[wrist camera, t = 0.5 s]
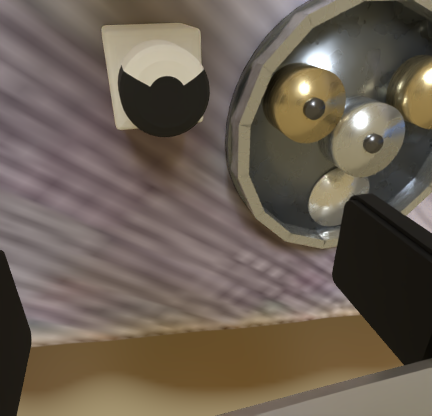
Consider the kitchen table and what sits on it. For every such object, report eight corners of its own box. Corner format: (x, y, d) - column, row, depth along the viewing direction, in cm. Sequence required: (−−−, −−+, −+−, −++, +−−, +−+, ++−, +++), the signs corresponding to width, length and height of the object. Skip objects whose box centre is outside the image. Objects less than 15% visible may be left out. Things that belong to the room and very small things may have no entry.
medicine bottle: (187, 102, 37) (220, 142, 27) (113, 108, 35) (119, 153, 25) (182, 22, 33) (219, 33, 23) (100, 25, 32) (101, 38, 22)
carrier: (225, -17, 33) (246, -19, 28) (488, -19, 39) (541, -21, 34) (225, 250, 47) (239, 278, 42) (417, 216, 54) (448, 237, 49)
